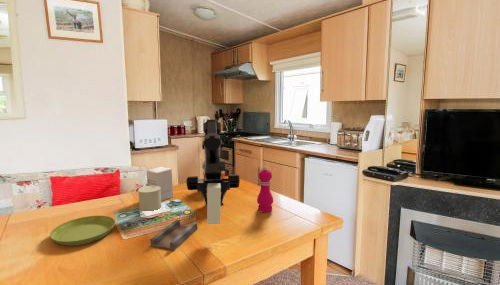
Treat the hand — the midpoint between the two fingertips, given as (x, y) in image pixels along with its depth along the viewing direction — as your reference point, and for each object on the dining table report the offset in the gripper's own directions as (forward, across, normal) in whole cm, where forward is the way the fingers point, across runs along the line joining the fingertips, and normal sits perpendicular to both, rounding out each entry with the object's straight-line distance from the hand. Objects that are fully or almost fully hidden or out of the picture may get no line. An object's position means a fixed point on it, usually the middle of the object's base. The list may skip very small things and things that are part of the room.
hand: (213, 204), depth 94 cm
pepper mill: (-7, +23, +27) cm, 36 cm away
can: (-9, -28, +29) cm, 41 cm away
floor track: (+6, -14, +13) cm, 20 cm away
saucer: (+1, -48, +18) cm, 51 cm away
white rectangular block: (+4, 0, +6) cm, 7 cm away
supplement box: (-24, -27, +43) cm, 56 cm away
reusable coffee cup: (-31, 0, +51) cm, 59 cm away
